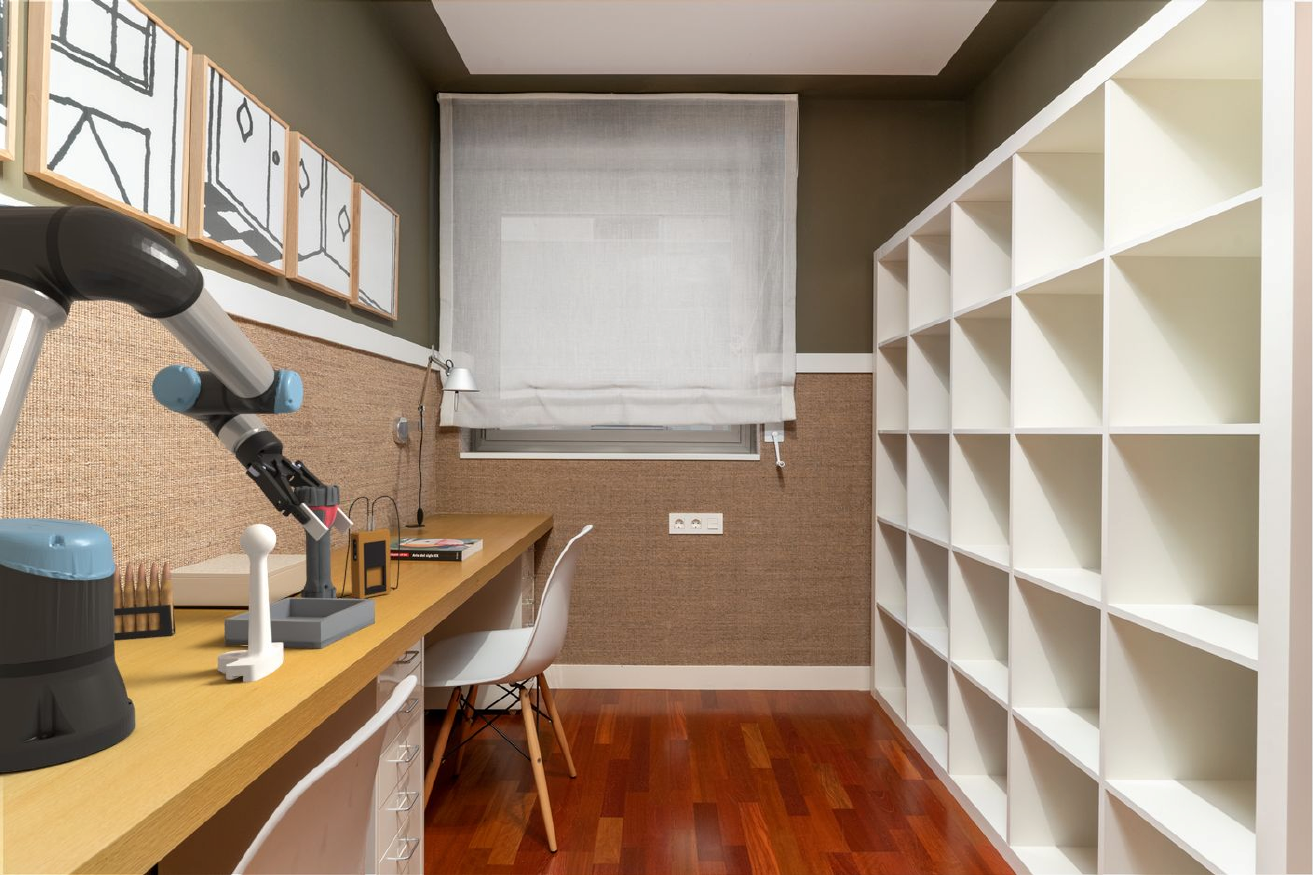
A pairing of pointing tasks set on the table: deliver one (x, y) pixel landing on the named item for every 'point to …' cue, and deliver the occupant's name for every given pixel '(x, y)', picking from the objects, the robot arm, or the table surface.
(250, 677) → the joystick
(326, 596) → the flashlight
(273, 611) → the tray
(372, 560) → the multimeter
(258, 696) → the table surface
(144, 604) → the ammunition clip
